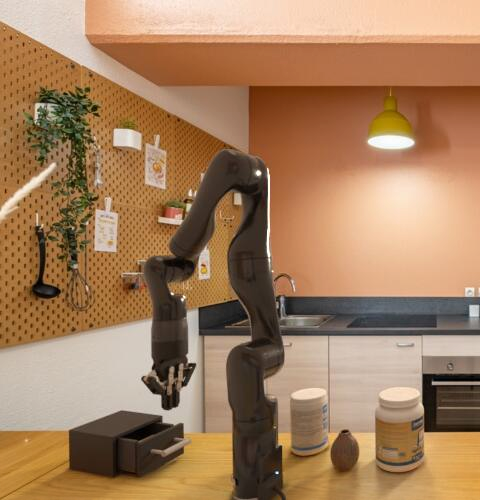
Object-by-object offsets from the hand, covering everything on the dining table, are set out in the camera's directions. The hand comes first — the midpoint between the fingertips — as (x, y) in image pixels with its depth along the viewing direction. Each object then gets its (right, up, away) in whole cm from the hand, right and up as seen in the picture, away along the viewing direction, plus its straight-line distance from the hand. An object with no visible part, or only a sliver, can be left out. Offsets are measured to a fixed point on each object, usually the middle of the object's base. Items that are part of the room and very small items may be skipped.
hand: (170, 408), depth 98 cm
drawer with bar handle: (-6, -14, +2) cm, 16 cm away
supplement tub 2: (+55, -15, +3) cm, 57 cm away
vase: (+42, -15, 0) cm, 45 cm away
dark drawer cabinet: (-17, -15, +5) cm, 23 cm away
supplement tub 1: (+30, -15, +10) cm, 35 cm away
